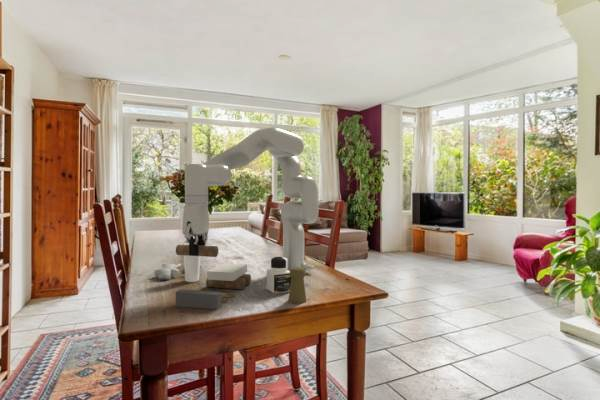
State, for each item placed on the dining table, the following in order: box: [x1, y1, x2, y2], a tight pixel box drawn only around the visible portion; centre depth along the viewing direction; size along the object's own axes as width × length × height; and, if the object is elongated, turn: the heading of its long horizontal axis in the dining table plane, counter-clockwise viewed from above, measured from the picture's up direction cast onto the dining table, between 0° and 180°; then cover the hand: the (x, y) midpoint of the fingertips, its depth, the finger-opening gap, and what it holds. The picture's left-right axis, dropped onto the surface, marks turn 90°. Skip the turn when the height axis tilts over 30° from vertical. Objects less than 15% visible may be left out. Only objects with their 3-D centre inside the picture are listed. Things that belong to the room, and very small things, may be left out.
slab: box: [206, 262, 248, 281], centre depth 130 cm, size 10×14×3 cm
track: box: [205, 273, 252, 303], centre depth 125 cm, size 14×23×4 cm, turn 168°
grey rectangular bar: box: [175, 288, 223, 311], centre depth 108 cm, size 14×3×4 cm, turn 78°
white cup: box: [182, 242, 202, 283], centre depth 137 cm, size 7×7×15 cm
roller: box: [175, 244, 219, 258], centre depth 117 cm, size 14×4×4 cm, turn 77°
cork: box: [288, 267, 307, 305], centre depth 114 cm, size 6×6×11 cm
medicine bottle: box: [266, 256, 291, 295], centre depth 126 cm, size 7×7×12 cm
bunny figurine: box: [154, 263, 182, 281], centre depth 145 cm, size 10×5×15 cm
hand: (197, 253), depth 117 cm, fingers closed on roller, 3 cm apart
